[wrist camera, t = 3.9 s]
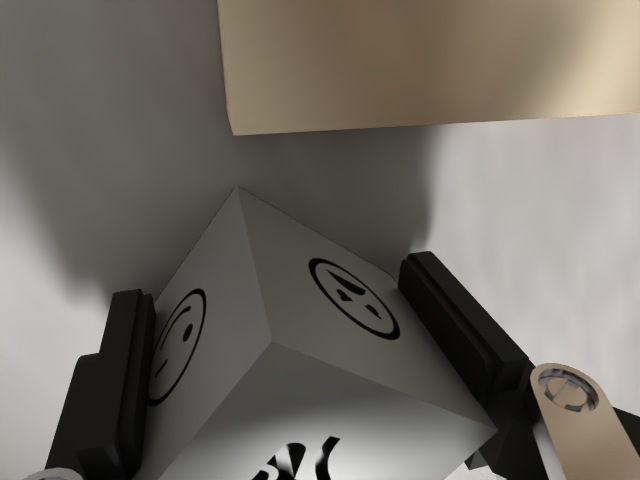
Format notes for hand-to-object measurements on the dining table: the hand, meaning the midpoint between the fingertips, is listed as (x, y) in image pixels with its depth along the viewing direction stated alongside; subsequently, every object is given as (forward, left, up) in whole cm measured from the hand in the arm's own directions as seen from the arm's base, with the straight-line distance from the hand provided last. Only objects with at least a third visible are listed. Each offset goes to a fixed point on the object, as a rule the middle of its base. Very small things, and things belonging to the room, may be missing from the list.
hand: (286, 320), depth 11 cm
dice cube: (0, 0, -1) cm, 1 cm away
